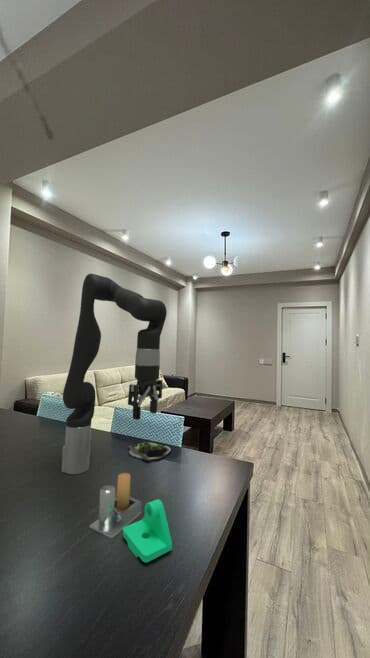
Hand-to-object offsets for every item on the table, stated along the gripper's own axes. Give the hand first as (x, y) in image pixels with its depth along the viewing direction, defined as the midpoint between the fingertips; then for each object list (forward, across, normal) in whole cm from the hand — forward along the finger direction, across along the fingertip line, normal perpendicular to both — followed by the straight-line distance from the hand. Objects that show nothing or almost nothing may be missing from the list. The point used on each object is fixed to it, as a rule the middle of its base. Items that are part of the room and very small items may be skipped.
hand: (145, 416), depth 89 cm
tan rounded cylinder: (+28, +6, -2) cm, 28 cm away
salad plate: (+29, -35, -21) cm, 50 cm away
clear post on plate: (+28, +8, -2) cm, 29 cm away
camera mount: (+28, +12, +10) cm, 33 cm away
